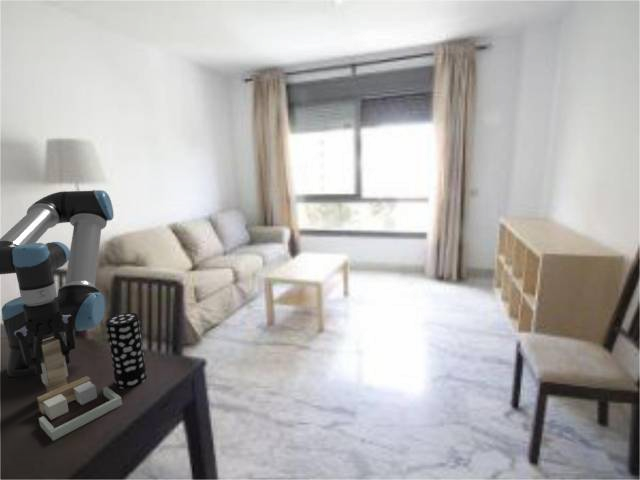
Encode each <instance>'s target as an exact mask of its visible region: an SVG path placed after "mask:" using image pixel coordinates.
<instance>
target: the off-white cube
mask: <svg viewBox="0 0 640 480" xmlns="http://www.w3.org/2000/svg"><path fill="white" fill-rule="evenodd" d="M43 404H44V409H45V414H44V415H46V416H47V417H48V418H49V419H50V420H51V421H52V420H53V419H56V418H59V417H60V416H62V415H64V414H66V413H69V406H68V404H69V403H67V399H66V398H65V397H64V396H63V395H62V394H59V395H57V396H54V397H52V398H50V399H48V400H45V401H43Z"/></svg>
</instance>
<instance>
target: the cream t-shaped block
mask: <svg viewBox="0 0 640 480" xmlns="http://www.w3.org/2000/svg"><path fill="white" fill-rule="evenodd" d="M41 348H42V353H41V360H42V361H43V362H44V363H45V367H46V372H47V377H48V382H49V384H48V385H45V388H46V393H44V394H42V395H40V396H37V397H36V399H37V404H38V410H39V412H40V413H41V414H42V415H43V416H44V415H46V414H45V409H44V404H43V401H45V400H48V399H50V398H52V397H54V396H57V395H59V394H62V395H63V396H64V397H65V398H66V399H67V404H69V403H71V402H73V401H76V400H75V394H74V389H73V388H74V387H77V386H79V385H81V384H83V383H86V382H88V381H90V382H91V383H92V380H91V377H89V376H88V375H86V376H84V377H81V378H79V379H76V380H73V381H72V382H70V383H68V378H67V377H66V373H65V368H64V363H63V357H62V352H61V347H60V341H59V339H55V338H54V337H50V338H47V339H44V340H42V345H41Z"/></svg>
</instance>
